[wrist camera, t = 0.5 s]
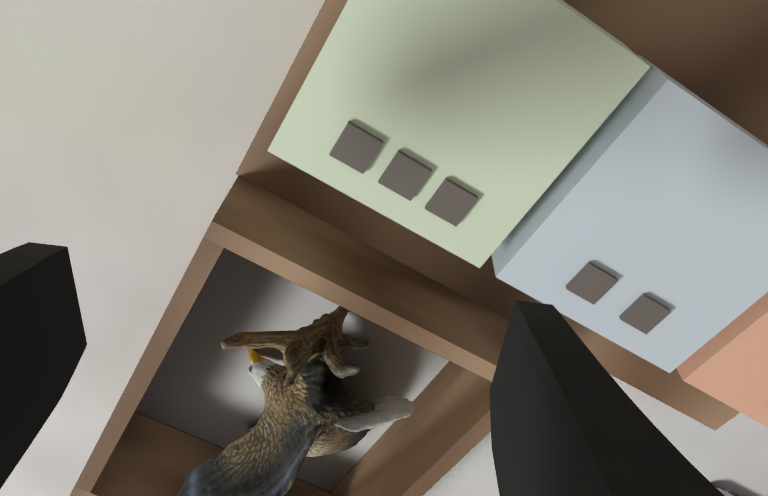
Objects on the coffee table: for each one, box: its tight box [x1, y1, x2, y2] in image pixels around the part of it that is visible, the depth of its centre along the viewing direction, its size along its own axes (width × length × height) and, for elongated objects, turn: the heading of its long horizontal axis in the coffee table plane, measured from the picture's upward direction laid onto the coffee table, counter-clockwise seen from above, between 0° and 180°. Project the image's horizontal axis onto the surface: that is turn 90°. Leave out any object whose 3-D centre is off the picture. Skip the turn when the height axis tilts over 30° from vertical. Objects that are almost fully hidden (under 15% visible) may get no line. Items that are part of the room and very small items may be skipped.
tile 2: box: [491, 55, 768, 373], centre depth 16 cm, size 6×6×2 cm
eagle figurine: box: [176, 306, 415, 496], centre depth 22 cm, size 8×7×9 cm
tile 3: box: [267, 0, 650, 268], centre depth 14 cm, size 6×6×2 cm
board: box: [70, 0, 768, 496], centre depth 21 cm, size 20×26×4 cm
